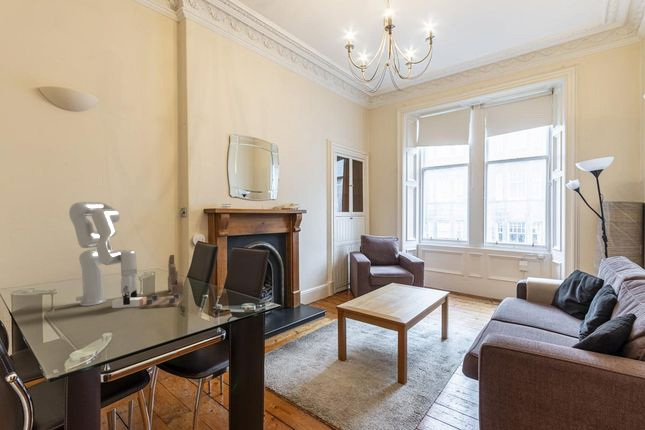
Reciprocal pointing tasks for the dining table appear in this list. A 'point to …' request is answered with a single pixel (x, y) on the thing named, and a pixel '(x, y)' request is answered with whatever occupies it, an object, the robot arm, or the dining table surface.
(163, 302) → the brown fixture board
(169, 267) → the wooden toy
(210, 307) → the dining table surface
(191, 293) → the dining table surface
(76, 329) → the dining table surface
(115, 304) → the block
